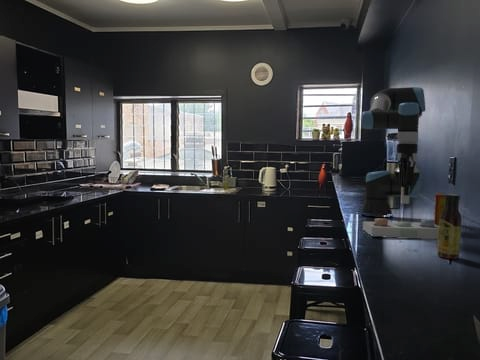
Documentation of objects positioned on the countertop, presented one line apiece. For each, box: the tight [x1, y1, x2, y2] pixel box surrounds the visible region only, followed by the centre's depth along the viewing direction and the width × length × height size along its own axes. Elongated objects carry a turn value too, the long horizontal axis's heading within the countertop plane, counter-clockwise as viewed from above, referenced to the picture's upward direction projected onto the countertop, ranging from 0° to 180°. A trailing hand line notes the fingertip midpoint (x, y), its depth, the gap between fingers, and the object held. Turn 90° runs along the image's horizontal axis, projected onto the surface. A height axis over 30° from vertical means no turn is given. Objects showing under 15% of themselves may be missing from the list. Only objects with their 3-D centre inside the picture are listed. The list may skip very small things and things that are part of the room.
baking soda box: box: [433, 192, 447, 226], centre depth 184 cm, size 10×6×16 cm
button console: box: [362, 220, 439, 240], centre depth 174 cm, size 15×28×4 cm, turn 88°
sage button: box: [397, 221, 412, 227], centre depth 172 cm, size 5×5×3 cm
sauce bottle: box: [437, 193, 463, 260], centre depth 136 cm, size 6×6×20 cm
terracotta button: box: [373, 218, 389, 226], centre depth 172 cm, size 5×5×3 cm
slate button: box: [420, 218, 435, 228], centre depth 172 cm, size 5×5×3 cm
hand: (404, 203), depth 172 cm, fingers closed
